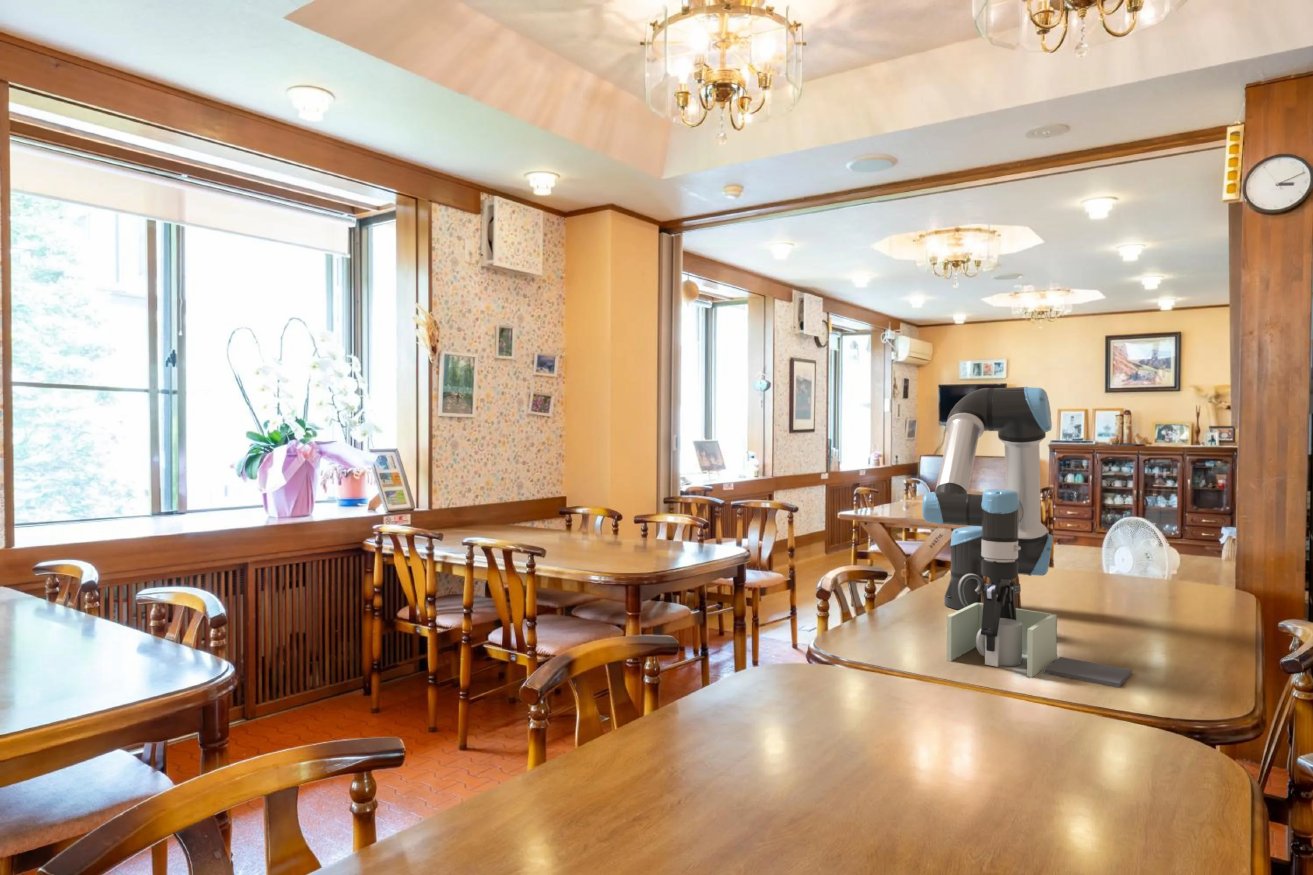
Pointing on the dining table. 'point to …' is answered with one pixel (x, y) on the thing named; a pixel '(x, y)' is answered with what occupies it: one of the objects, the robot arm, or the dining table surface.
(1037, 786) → the dining table surface
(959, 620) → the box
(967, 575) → the mug
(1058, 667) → the mat
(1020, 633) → the cup
